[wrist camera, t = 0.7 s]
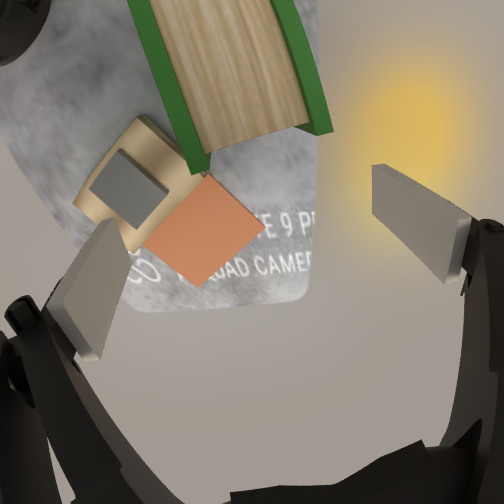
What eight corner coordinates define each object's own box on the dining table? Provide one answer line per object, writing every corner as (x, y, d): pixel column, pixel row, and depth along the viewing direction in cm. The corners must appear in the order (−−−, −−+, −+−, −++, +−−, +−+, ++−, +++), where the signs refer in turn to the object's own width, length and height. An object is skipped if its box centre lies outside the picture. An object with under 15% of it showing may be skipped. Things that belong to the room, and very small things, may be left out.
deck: (83, 193, 37) (72, 203, 33) (144, 115, 33) (136, 117, 29) (140, 240, 41) (133, 254, 38) (205, 170, 38) (204, 178, 34)
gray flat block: (93, 185, 32) (88, 189, 31) (121, 148, 31) (116, 150, 30) (139, 224, 36) (136, 230, 34) (169, 191, 34) (167, 195, 33)
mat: (142, 242, 41) (141, 244, 41) (208, 173, 38) (208, 173, 37) (198, 286, 46) (198, 287, 46) (264, 226, 42) (265, 227, 42)
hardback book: (263, 110, 35) (333, 131, 14) (207, 128, 35) (191, 175, 14) (221, -8, 26) (231, -121, 5) (164, 10, 26) (101, -83, 5)
